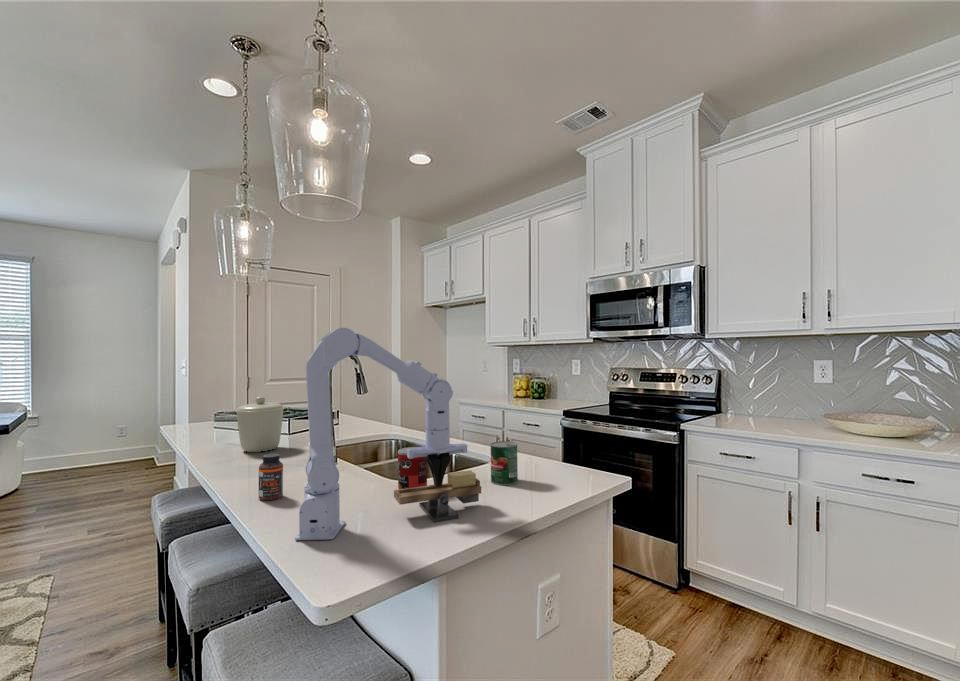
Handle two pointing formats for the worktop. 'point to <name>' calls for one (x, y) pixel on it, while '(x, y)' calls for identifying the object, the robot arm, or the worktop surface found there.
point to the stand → (439, 509)
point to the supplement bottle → (270, 478)
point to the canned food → (411, 470)
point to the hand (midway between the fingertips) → (438, 485)
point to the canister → (259, 425)
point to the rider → (461, 479)
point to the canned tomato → (504, 463)
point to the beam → (437, 493)
